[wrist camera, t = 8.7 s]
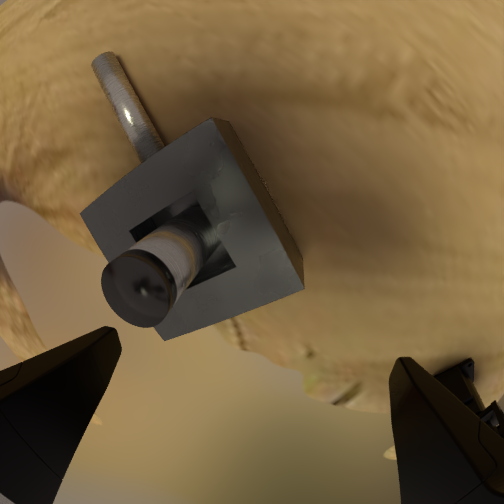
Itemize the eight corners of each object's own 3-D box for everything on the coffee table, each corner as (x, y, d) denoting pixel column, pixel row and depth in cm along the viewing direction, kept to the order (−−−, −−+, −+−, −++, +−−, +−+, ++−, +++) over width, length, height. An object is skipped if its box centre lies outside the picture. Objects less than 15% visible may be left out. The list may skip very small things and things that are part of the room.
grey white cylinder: (213, 201, 17) (148, 252, 10) (228, 249, 18) (179, 325, 11) (168, 212, 18) (90, 265, 11) (184, 258, 19) (120, 328, 12)
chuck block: (302, 259, 19) (304, 288, 16) (183, 309, 22) (164, 341, 18) (166, 19, 14) (138, -1, 10) (65, 104, 17) (30, 104, 13)
